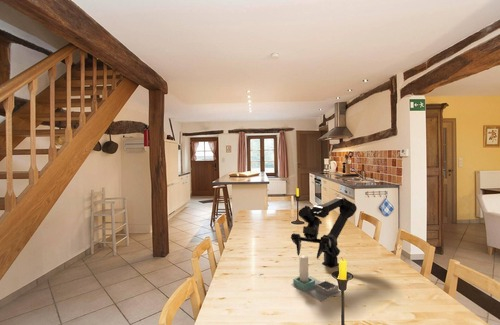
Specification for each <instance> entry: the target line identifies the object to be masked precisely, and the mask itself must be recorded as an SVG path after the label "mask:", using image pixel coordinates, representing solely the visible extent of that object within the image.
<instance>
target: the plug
mask: <svg viewBox="0 0 500 325" xmlns="http://www.w3.org/2000/svg"><path fill="white" fill-rule="evenodd" d="M298 259H299V262H298V263H299V265H298V266H299V277H300V282H302V283H304V284H305V283H307V282H309V277H310V276H309V256H308V255H304V254H303V255H299V256H298Z"/></svg>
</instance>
